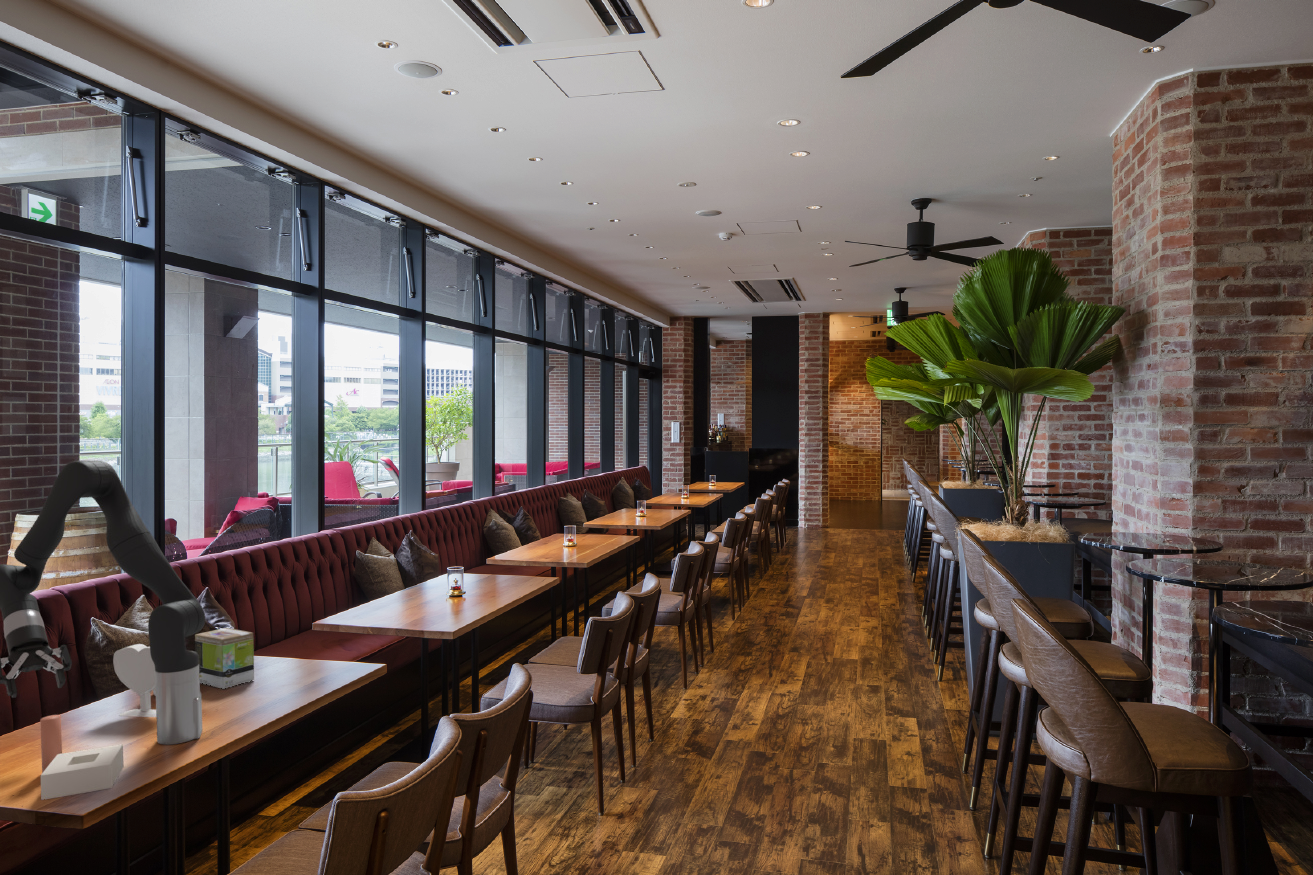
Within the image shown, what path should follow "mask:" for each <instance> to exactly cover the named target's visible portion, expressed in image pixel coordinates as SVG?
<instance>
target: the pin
mask: <svg viewBox="0 0 1313 875" xmlns="http://www.w3.org/2000/svg"><path fill="white" fill-rule="evenodd" d="M39 720H40V723H39V724H40V748H41V774H42V773H43V772H44V771H45V769H46V768H47V767H48V766H49V764H50V763H51V762H52V761H53V759H54V758H55V757H56V756H57V754H62V753H63V740H62V716H61V715H60V714H52V715H47V716H44V717H41V718H40V719H39Z"/></svg>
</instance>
